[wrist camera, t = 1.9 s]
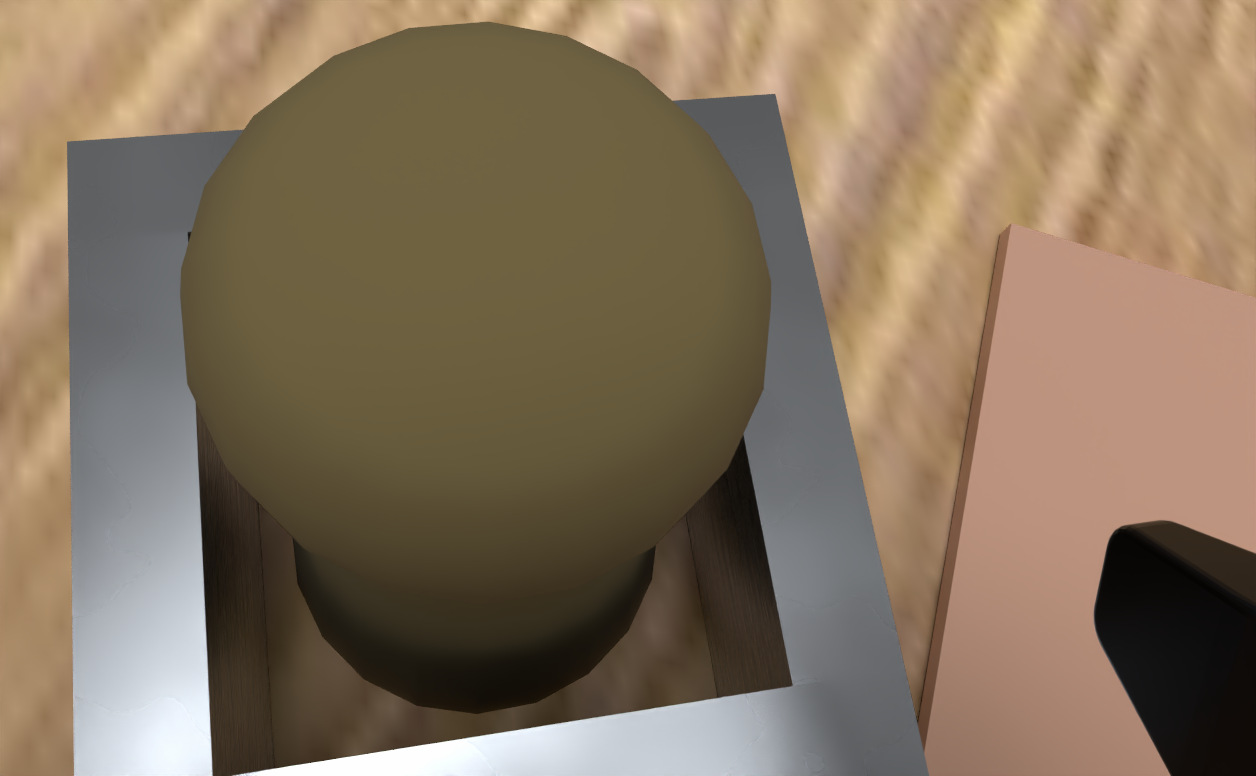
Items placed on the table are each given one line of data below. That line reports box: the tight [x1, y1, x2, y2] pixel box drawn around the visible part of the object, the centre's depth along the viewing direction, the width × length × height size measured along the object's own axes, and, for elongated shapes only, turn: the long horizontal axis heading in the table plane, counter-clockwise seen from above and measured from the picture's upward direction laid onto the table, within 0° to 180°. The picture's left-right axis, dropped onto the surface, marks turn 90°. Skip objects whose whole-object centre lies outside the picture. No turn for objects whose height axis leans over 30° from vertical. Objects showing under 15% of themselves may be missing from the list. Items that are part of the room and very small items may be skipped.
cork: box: [180, 22, 771, 714], centre depth 14 cm, size 6×6×11 cm
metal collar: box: [67, 94, 929, 776], centre depth 17 cm, size 10×10×4 cm
